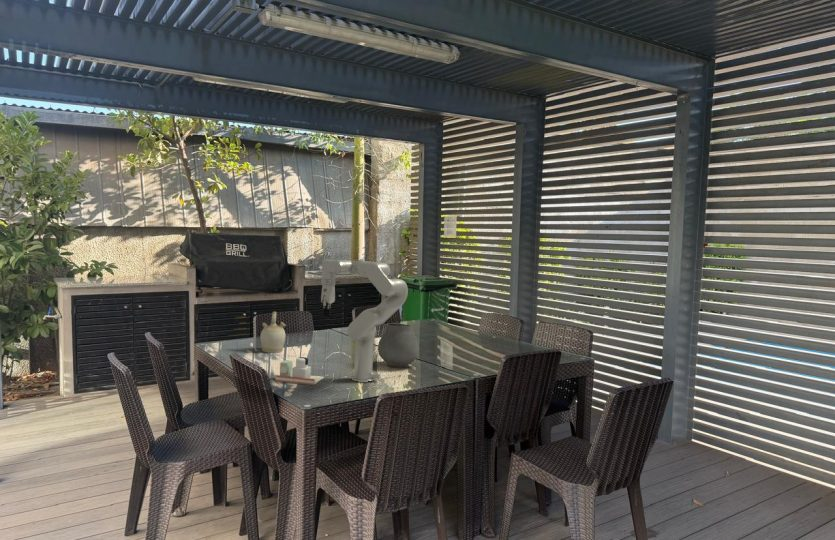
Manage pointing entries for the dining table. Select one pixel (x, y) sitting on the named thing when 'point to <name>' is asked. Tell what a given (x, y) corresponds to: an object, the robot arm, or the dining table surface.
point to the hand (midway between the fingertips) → (326, 315)
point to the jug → (273, 336)
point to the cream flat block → (299, 379)
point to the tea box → (286, 368)
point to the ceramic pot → (398, 345)
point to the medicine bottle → (301, 368)
